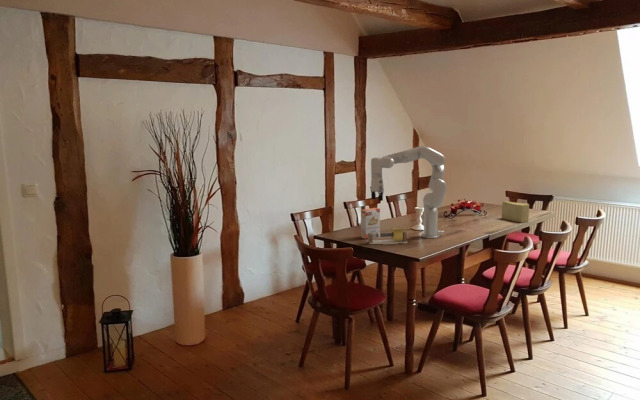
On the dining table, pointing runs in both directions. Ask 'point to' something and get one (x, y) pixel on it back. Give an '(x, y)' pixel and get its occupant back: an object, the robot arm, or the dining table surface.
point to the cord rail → (374, 235)
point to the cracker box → (370, 221)
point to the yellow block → (397, 234)
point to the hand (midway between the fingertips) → (377, 199)
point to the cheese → (515, 211)
